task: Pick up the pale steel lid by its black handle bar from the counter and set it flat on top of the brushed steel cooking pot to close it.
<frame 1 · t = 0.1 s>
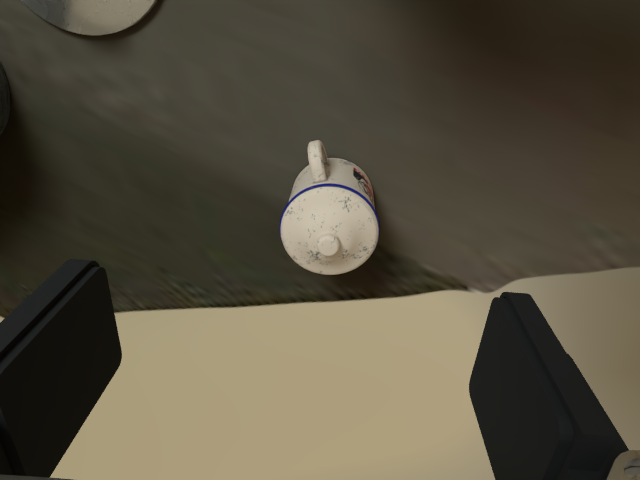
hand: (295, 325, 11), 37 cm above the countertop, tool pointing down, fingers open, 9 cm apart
teacup with lid: (329, 182, 49), on the countertop
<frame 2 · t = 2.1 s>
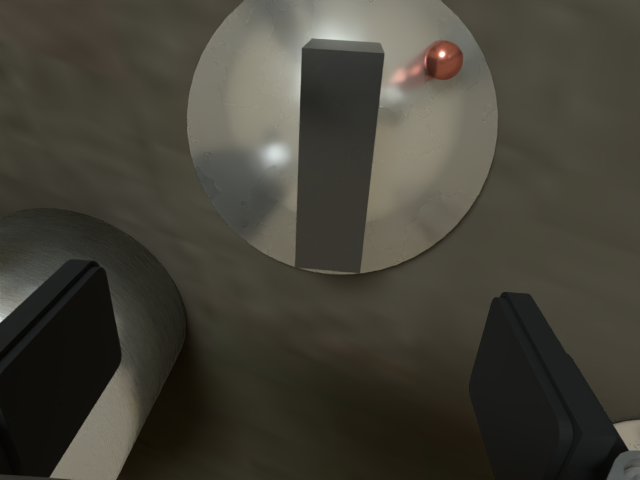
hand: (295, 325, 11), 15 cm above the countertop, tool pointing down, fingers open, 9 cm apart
lid: (339, 138, 25), on the countertop
pot: (78, 307, 31), on the countertop
teacup with lid: (629, 441, 34), on the countertop
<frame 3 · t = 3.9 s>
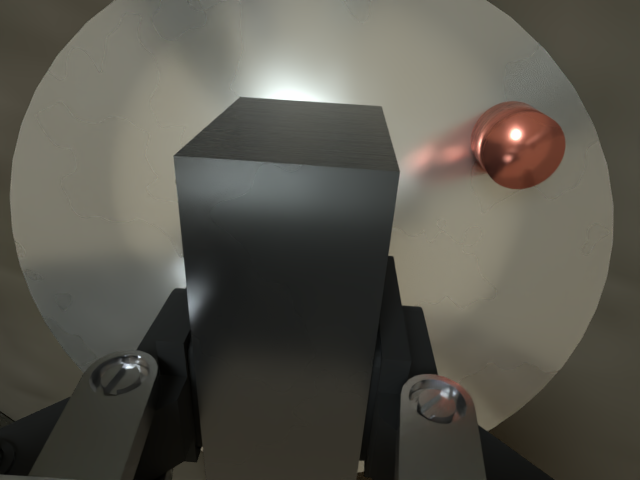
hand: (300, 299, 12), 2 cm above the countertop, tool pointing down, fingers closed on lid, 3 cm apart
lid: (306, 264, 14), on the countertop, touching gripper
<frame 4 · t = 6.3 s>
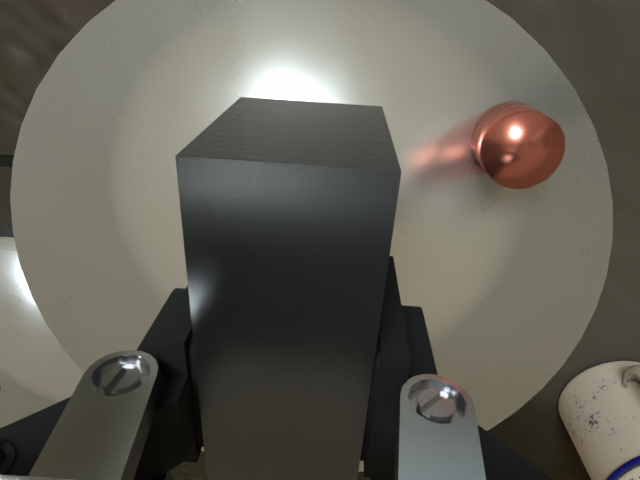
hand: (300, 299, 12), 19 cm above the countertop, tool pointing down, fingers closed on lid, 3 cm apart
lid: (306, 264, 14), point 18 cm above the countertop, touching gripper
pot: (121, 264, 35), on the countertop
teacup with lid: (610, 382, 38), on the countertop
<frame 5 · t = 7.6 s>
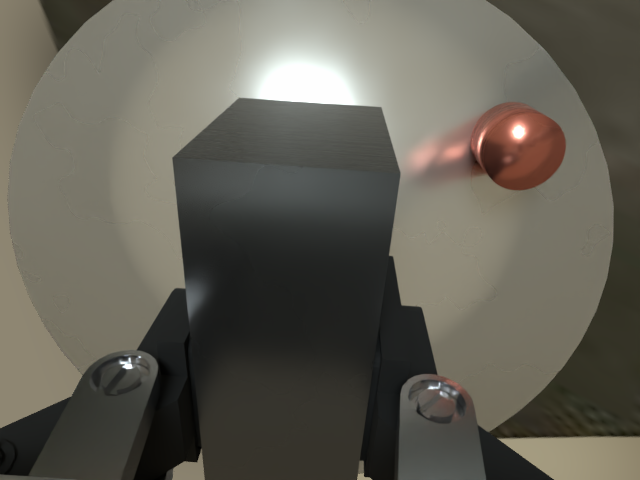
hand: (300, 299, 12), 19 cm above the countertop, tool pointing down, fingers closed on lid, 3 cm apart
lid: (305, 265, 14), point 17 cm above the countertop, touching gripper
when the fingers open (14 cm above the countertop, at t = 8.6 s): lid drops 1 cm, resting on pot.
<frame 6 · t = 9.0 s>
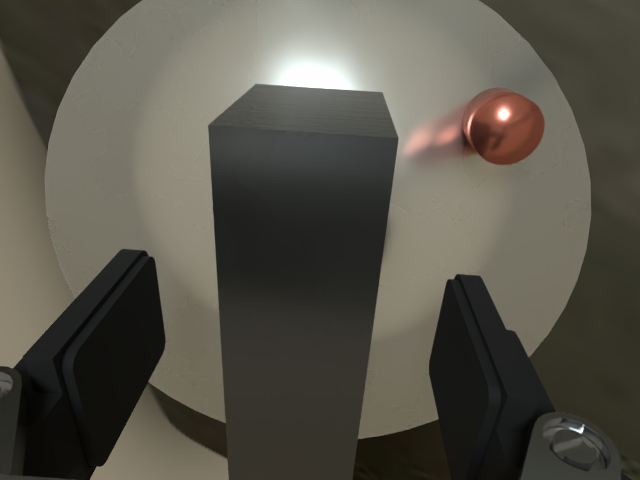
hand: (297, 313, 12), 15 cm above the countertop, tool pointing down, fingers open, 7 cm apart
lid: (313, 240, 15), point 11 cm above the countertop, touching pot
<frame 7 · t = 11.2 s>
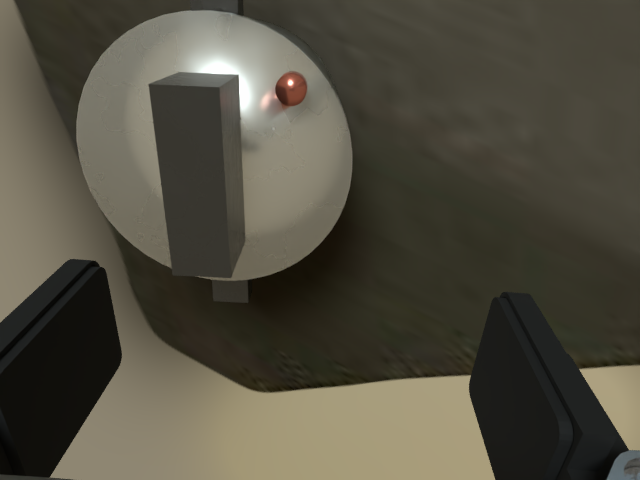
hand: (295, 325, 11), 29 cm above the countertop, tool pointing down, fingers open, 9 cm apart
lid: (219, 157, 28), point 11 cm above the countertop, touching pot
pot: (249, 119, 38), on the countertop
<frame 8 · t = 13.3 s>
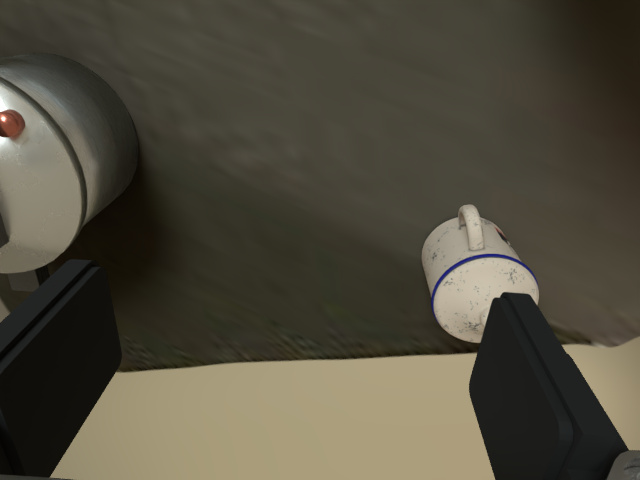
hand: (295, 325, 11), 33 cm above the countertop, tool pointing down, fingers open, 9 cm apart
pot: (61, 136, 44), on the countertop
teacup with lid: (461, 239, 47), on the countertop
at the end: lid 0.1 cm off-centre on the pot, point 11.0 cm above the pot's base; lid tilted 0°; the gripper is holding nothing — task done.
